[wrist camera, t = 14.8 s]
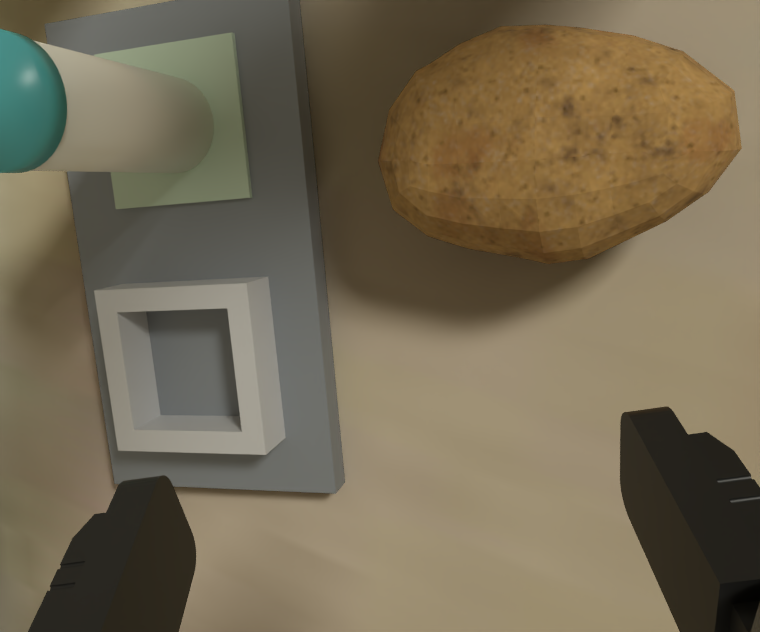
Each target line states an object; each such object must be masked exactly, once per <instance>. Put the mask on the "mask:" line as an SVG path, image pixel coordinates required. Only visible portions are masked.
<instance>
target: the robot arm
mask: <svg viewBox="0 0 760 632" xmlns="http://www.w3.org/2000/svg"><path fill="white" fill-rule="evenodd" d="M620 484H621V492H622V497H623V501H624V505H625V508H626V511H627V514H628V517H629V519H630V521H631V524H632V526H633V528H634V530H635V532H636V535H637V537H638V539H639V541H640V544H641V546H642V548H643V550H644V553H645V555H646V557H647V559H648V562H649V564H650V566H651V568H652V571H653V573H654V575H655V577H656V579H657V582H658V584H659V586H660V588H661V591H662V593H663V595H664V597H665V600H666V602H667V604H668V606H669V609H670V611H671V613H672V615H673V618H674V620H675V622H676V624H677V626H678V629H679V631H680V632H760V487H759V486H758V484H757V483H756V481H755V480H754V479H753V480H752V479H751V474H750V473H749V471H748V470H747V469H746V467H745V466H744V464H743V463H742V462H741V460H740V459H739V457H738V456H737V454H736V453H735V452H734V451H733V450H732V449H731V448H729V447H728V446H726V445H725V444H723V443H722V442H720V441H719V440H718V439H716V438H715V437H713V436H712V435H710V434H709V433H707V432H704V433H697V434H690V435H688V434H687V433H686V431H685V429H684V428H683V426H682V425H681V423H680V422H679V420H678V418H677V417H676V415H675V414H674V412H673V411H672V410H671V409H670V408H669V407H660V408H653V409H645V410H638V411H631V412H624V413H623V414H622V416H621V434H620ZM60 565H61V568H60V569H58V570H57V572H56V574H55V576H54V578H53V581H52V583H51V585H50V587H51V589H50V591H47V593H46V595H45V597H44V599H43V602H42V604H41V606H40V608H39V610H38V612H37V614H36V616H35V618H34V620H33V622H32V625H31V627H30V629H29V631H28V632H179V629H180V625H181V621H182V617H183V613H184V610H185V606H186V602H187V598H188V594H189V591H190V587H191V583H192V579H193V575H194V571H195V565H196V547H195V541H194V537H193V534H192V531H191V529H190V526H189V524H188V521H187V519H186V517H185V514H184V512H183V509H182V507H181V504H180V502H179V499H178V497H177V495H176V492H175V490H174V487H173V485H172V483H171V481H170V479H169V478H168V477H167V476H165V475H161V476H154V477H147V478H140V479H133V480H125V481H122V482H121V483H120V484H119V486H118V487H117V489H116V492H115V494H114V496H113V499H112V501H111V503H110V505H109V508H108V510H107V512H106V513H100V514H94V516H93V517H92V518H91V519H90V520H89V521H88V522H87V523H86V524H85V525H84V526H83V528H82V529H81V530H80V531H79V532H78V533H77V534H76V535H75V536H74V537H73V539H72V541H71V543H70V545H69V547H68V549H67V551H66V553H65V555H64V557H63V560H62V562H61V564H60Z"/></svg>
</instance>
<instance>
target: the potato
mask: <svg viewBox="0 0 760 632" xmlns="http://www.w3.org/2000/svg"><path fill="white" fill-rule="evenodd" d="M740 149H741V140H740V132H739V124H738V117H737V109H736V101H735V93H734V90H733V89H731V88H730V87H729V86H727V85H726V84H725V83H724V82H722V81H721V80H720V79H718V78H717V77H716V76H714V75H713V74H712V73H710V72H709V71H708V70H707V69H705V68H704V67H703V66H701V65H700V64H699V63H697V62H696V61H695V60H694V59H692V58H691V57H690V56H688V55H687V54H686V53H684V52H683V51H680V50H677V49H674V48H671V47H667V46H664V45H661V44H658V43H655V42H652V41H649V40H646V39H643V38H639V37H636V36H632V35H625V34H619V33H612V32H605V31H599V30H592V29H585V28H577V27H566V26H554V25H523V26H500V27H498V28H496V29H493V30H491V31H489V32H486V33H484V34H482V35H479V36H477V37H475V38H472V39H470V40H468V41H465V42H463V43H461V44H459V45H457V46H456V47H454V48H453V49H451V50H450V51H448V52H447V53H445V54H444V55H442V56H441V57H439V58H438V59H436V60H435V61H433V62H432V63H430V64H429V65H427V66H425V67H423V68H421V69H419V70H417V71H416V72H415V73H414V75H413V76H412V78H411V79H410V80H409V82H408V83H407V85H406V86H405V88H404V89H403V91H402V92H401V94H400V95H399V96H398V98H397V99H396V101H395V102H394V104H393V105H392V107H391V108H390V109H389V113H388V118H387V122H386V127H385V131H384V136H383V141H382V145H381V150H380V155H379V159H378V163H379V166H380V169H381V172H382V176H383V179H384V182H385V185H386V188H387V192H388V195H389V198H390V201H391V205H392V208H393V210H394V211H396V212H397V213H398V214H400V215H401V216H402V217H403V218H405V219H406V220H407V221H409V222H410V223H411V224H413V225H414V226H415V227H416V228H418V229H419V230H420V231H422V232H423V233H424V234H426V235H427V236H429V237H432V238H436V239H439V240H442V241H445V242H449V243H452V244H455V245H458V246H462V247H465V248H468V249H474V250H479V251H485V252H491V253H496V254H502V255H508V256H513V257H519V258H524V259H529V260H533V261H538V262H542V263H547V264H551V263H559V262H566V261H574V260H581V259H589V258H591V257H593V256H595V255H597V254H599V253H601V252H603V251H605V250H607V249H610V248H612V247H614V246H616V245H618V244H620V243H622V242H624V241H626V240H628V239H630V238H632V237H634V236H636V235H638V234H640V233H643V232H645V231H647V230H649V229H651V228H653V227H655V226H657V225H659V224H661V223H664V222H666V221H667V220H669V219H670V218H672V217H673V216H674V215H676V214H677V213H679V212H680V211H682V210H683V209H685V208H686V207H687V206H689V205H690V204H692V203H693V202H695V201H696V200H697V199H699V198H700V197H702V196H703V195H705V194H706V193H708V192H709V191H710V189H711V188H712V187H713V185H714V184H715V183H716V181H717V180H718V179H719V177H720V176H721V175H722V173H723V172H724V171H725V169H726V168H727V167H728V165H729V164H730V163H731V161H732V160H733V159H734V157H735V156H736V155H737V153H738V152H739V151H740Z"/></svg>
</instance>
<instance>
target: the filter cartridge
mask: <svg viewBox="0 0 760 632" xmlns="http://www.w3.org/2000/svg"><path fill="white" fill-rule="evenodd" d="M213 134H214V120H213V114H212V111H211V108H210V105H209V103H208V101H207V99H206V98H205V96H204V95H203V93H202V92H201V91H200V90H199V89H198V88H197V87H196V86H195V85H193V84H192V83H190V82H189V81H187V80H184V79H181V78H177V77H174V76H170V75H166V74H162V73H158V72H154V71H150V70H146V69H142V68H139V67H135V66H131V65H127V64H123V63H119V62H115V61H111V60H107V59H104V58H100V57H96V56H92V55H88V54H84V53H80V52H76V51H72V50H68V49H65V48H61V47H57V46H53V45H49V44H45V43H41V42H37V41H33V40H32V39H30V38H28V37H26V36H24V35H21V34H18V33H14V32H10V31H6V30H3V29H0V173H22V172H27V171H81V172H132V173H182V172H185V171H188V170H190V169H192V168H194V167H195V166H197V165H198V164H199V163H200V162H201V161H202V160H203V159H204V157H205V156H206V154H207V153H208V151H209V149H210V146H211V143H212V140H213Z"/></svg>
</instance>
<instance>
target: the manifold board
mask: <svg viewBox="0 0 760 632" xmlns="http://www.w3.org/2000/svg"><path fill="white" fill-rule="evenodd" d="M45 31H46V37H47V44H49V45H53V46H57V47H61V48H65V49H68V50H72V51H76V52H80V53H84V54H88V55H92V56H96V57H100V58H104V59H107V60H111V61H115V62H119V63H123V64H127V65H131V66H135V67H139V68H142V69H146V70H150V71H154V72H158V73H162V74H166V75H170V76H174V77H177V78H181V79H184V80H187V81H189V82H190V83H192V84H193V85H195V86H196V87H197V88H198V89H199V90H200V91H201V92H202V93H203V95H204V96H205V98H206V99H207V101H208V103H209V105H210V108H211V111H212V114H213V120H214V134H213V140H212V143H211V146H210V149H209V151H208V153H207V154H206V156H205V157H204V159H203V160H202V161H201V162H200V163H199V164H198V165H197V166H195V167H194V168H192V169H190V170H188V171H185V172H182V173H132V172H81V171H67V175H68V182H69V188H70V195H71V201H72V208H73V214H74V221H75V228H76V234H77V241H78V247H79V254H80V260H81V267H82V273H83V280H84V287H85V293H86V300H87V306H88V313H89V319H90V326H91V332H92V339H93V346H94V352H95V359H96V365H97V372H98V378H99V385H100V392H101V398H102V405H103V411H104V418H105V424H106V431H107V437H108V444H109V451H110V457H111V464H112V470H113V477H114V483H115V484H120V483H121V482H122V481H125V480H133V479H140V478H147V477H154V476H161V475H165V476H167V477H168V478H169V479H170V481H171V483H172V485H173V486H176V487H198V488H221V489H244V490H267V491H290V492H312V493H335V494H336V493H337V492H338V490H339V489H340V488H341V486H342V485H343V484H344V483H345V478H344V468H343V457H342V446H341V436H340V425H339V414H338V404H337V393H336V383H335V372H334V361H333V351H332V340H331V329H330V319H329V308H328V297H327V287H326V276H325V266H324V255H323V244H322V234H321V223H320V212H319V202H318V191H317V180H316V170H315V159H314V149H313V138H312V127H311V117H310V106H309V95H308V85H307V74H306V63H305V53H304V42H303V32H302V21H301V10H300V0H175V1H169V2H164V3H158V4H153V5H147V6H142V7H136V8H131V9H125V10H119V11H114V12H108V13H103V14H97V15H92V16H86V17H81V18H75V19H70V20H64V21H59V22H53V23H47V24H45Z"/></svg>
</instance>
